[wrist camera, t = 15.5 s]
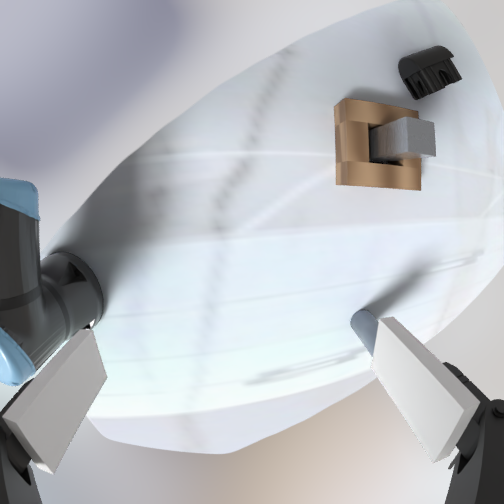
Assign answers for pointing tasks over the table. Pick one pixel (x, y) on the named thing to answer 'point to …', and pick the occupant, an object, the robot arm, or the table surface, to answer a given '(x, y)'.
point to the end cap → (428, 71)
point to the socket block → (357, 147)
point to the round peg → (365, 328)
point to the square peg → (402, 140)
